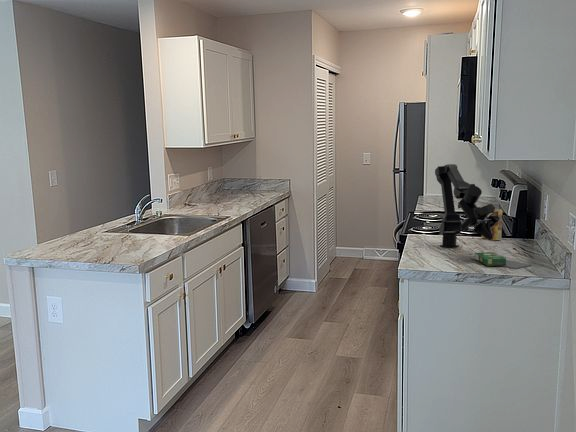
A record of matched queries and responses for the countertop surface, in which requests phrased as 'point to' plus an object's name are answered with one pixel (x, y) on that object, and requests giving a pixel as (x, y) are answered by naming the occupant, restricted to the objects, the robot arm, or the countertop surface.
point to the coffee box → (490, 258)
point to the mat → (515, 264)
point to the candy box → (496, 226)
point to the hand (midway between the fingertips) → (491, 239)
